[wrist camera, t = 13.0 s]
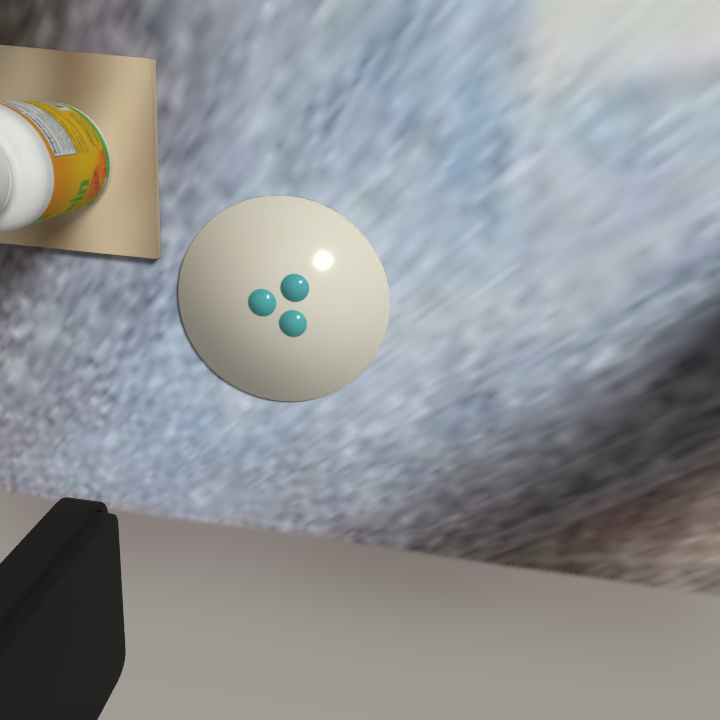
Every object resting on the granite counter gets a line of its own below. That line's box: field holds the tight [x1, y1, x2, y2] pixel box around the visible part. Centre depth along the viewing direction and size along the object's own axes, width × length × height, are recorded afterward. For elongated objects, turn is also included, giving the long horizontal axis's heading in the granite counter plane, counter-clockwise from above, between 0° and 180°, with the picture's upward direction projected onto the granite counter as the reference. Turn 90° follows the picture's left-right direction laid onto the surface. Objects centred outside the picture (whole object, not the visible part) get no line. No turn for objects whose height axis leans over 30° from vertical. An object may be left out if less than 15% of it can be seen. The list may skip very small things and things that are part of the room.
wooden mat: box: [0, 45, 161, 259], centre depth 34 cm, size 10×10×1 cm
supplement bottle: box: [0, 101, 112, 231], centre depth 29 cm, size 5×5×10 cm
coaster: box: [178, 195, 390, 401], centre depth 37 cm, size 12×12×1 cm
